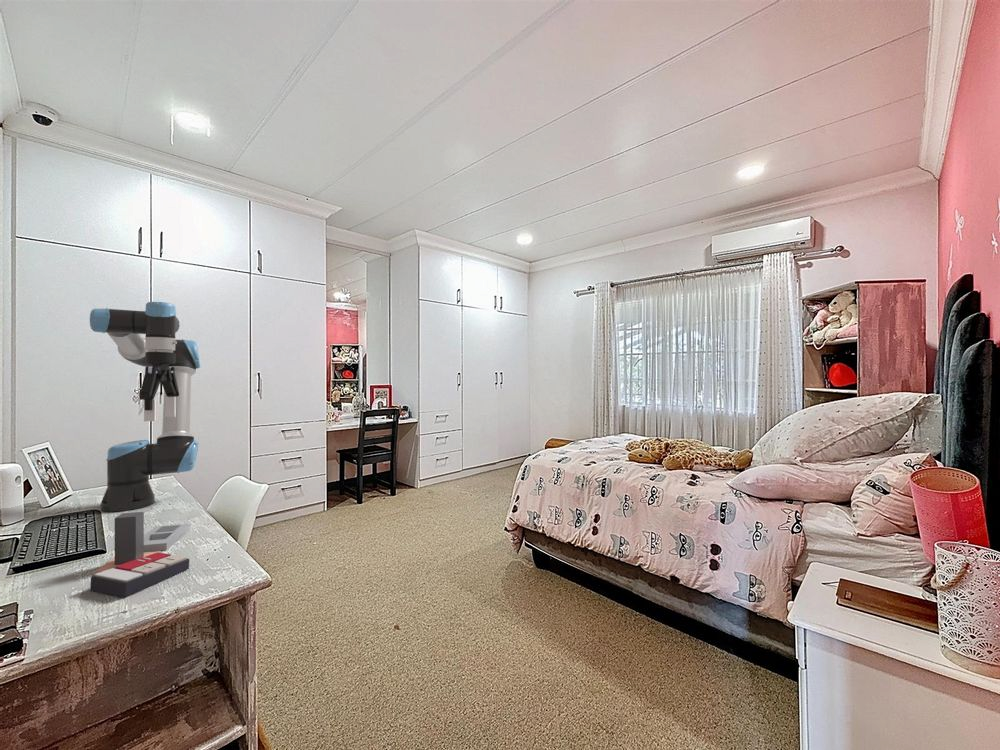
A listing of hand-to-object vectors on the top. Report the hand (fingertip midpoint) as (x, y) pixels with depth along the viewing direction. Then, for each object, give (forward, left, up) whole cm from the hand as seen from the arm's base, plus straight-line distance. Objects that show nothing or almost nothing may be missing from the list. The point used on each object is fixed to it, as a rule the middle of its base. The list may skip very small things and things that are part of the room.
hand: (160, 418), depth 137 cm
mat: (+27, +4, -35) cm, 44 cm away
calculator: (+38, +12, -35) cm, 53 cm away
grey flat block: (+12, +5, -35) cm, 37 cm away
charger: (+27, +4, -34) cm, 44 cm away
